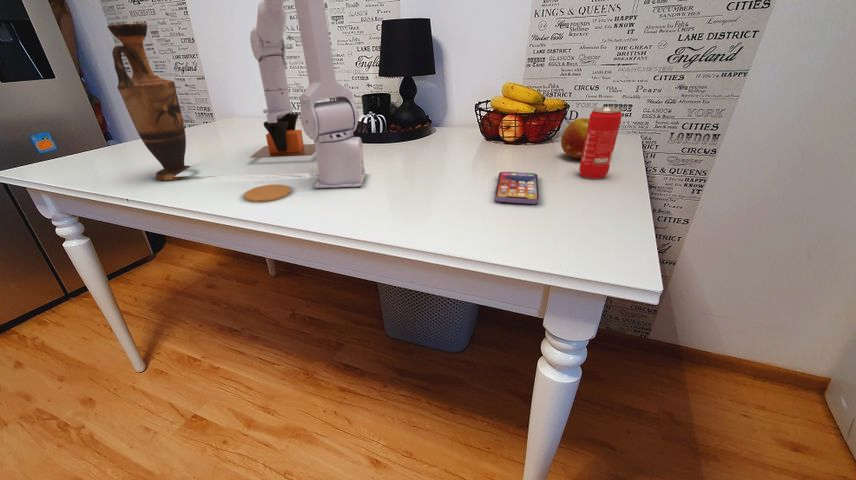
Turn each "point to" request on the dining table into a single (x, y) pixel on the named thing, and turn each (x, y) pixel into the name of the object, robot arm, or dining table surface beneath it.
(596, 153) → the beverage can
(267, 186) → the cork coaster
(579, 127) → the fruit
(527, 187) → the smartphone
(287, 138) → the snack box
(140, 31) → the vase
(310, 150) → the bread board
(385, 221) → the dining table surface
